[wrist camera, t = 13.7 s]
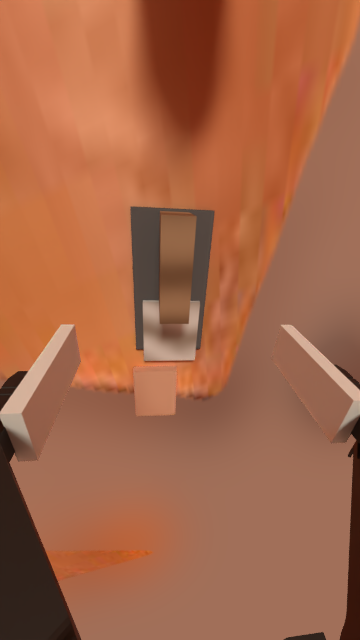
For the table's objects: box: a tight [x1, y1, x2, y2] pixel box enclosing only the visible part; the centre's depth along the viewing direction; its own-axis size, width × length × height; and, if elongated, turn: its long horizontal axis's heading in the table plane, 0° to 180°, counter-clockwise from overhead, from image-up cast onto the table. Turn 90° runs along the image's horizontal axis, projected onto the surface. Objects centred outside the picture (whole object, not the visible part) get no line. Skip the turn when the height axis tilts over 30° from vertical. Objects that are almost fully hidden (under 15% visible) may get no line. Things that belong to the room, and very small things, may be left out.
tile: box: [133, 366, 177, 416], centre depth 42 cm, size 7×2×10 cm
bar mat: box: [131, 207, 214, 349], centre depth 33 cm, size 10×20×1 cm, turn 177°
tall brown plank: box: [143, 211, 200, 361], centre depth 31 cm, size 22×8×6 cm, turn 177°
